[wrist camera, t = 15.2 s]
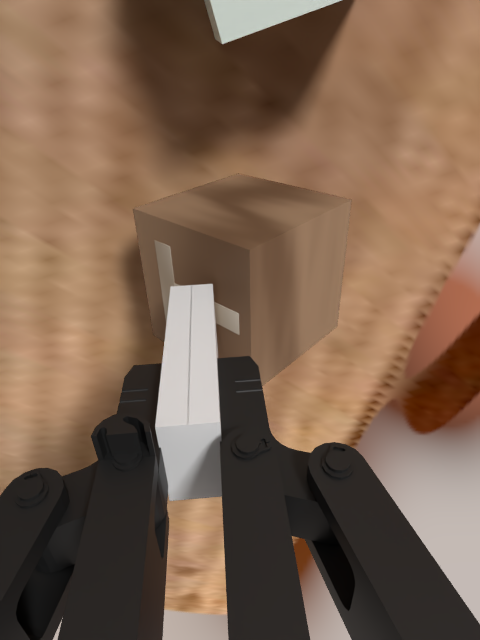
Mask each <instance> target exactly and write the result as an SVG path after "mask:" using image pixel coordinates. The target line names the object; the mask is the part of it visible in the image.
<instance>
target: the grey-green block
mask: <svg viewBox="0 0 480 640" xmlns="http://www.w3.org/2000/svg"><path fill="white" fill-rule="evenodd" d="M339 1H341V0H204V2H205V5H206V9H207V12H208V16H209V19H210V23H211V26H212V30H213V33H214V37H215V39H216V40H217V41H219V42H220V43H221V44H224V43H227V42H230V41H233V40H235V39H238V38H241V37H243V36H246V35H249V34H252V33H254V32H257V31H260V30H262V29H265V28H268V27H271V26H273V25H276V24H279V23H282V22H284V21H287V20H290V19H292V18H295V17H298V16H301V15H303V14H306V13H309V12H311V11H314V10H317V9H320V8H322V7H325V6H328V5H331V4H333V3H336V2H339Z"/></svg>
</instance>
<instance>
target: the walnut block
mask: <svg viewBox="0 0 480 640" xmlns="http://www.w3.org/2000/svg"><path fill="white" fill-rule="evenodd" d="M351 201H352V199H347V198H343V197H339V196H334V195H330V194H326V193H321V192H317V191H313V190H308V189H304V188H299V187H295V186H291V185H286V184H282V183H278V182H273V181H269V180H265V179H260V178H256V177H252V176H247V175H243V174H235V175H232V176H229V177H226V178H223V179H220V180H217V181H214V182H211V183H208V184H205V185H202V186H199V187H196V188H193V189H190V190H187V191H184V192H181V193H178V194H175V195H172V196H169V197H166V198H163V199H160V200H157V201H153V202H150V203H147V204H144V205H141V206H138V207H135V208H133V213H134V219H135V225H136V232H137V238H138V244H139V250H140V256H141V262H142V268H143V274H144V280H145V287H146V293H147V299H148V305H149V311H150V317H151V323H152V329H153V335H154V336H155V337H157V338H159V339H160V340H162V341H164V342H165V333H166V323H167V314H168V305H169V296H170V287H171V286H186V285H201V284H213V295H214V307H215V320H216V333H217V346H218V358H228V357H241V356H250V357H251V358H252V359H253V360H254V361H255V363H256V364H257V365H258V366H259V372H260V378H261V383H262V386H263V385H264V384H266V383H267V382H268V381H269V380H271V379H272V378H273V377H275V376H276V375H277V374H278V373H280V372H281V371H282V370H283V369H285V368H286V367H287V366H288V365H290V364H291V363H292V362H293V361H295V360H296V359H297V358H298V357H300V356H301V355H302V354H303V353H305V352H306V351H307V350H309V349H310V348H311V347H312V346H314V345H315V344H316V343H317V342H319V341H320V340H321V339H322V338H324V337H325V336H326V335H327V334H329V333H330V332H331V331H332V330H334V329H335V328H336V327H337V324H338V316H339V307H340V298H341V289H342V280H343V272H344V263H345V254H346V245H347V236H348V228H349V219H350V210H351Z"/></svg>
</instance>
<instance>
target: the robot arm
mask: <svg viewBox="0 0 480 640" xmlns="http://www.w3.org/2000/svg"><path fill="white" fill-rule="evenodd" d="M91 438H92V441H93V444H94V448H95V451H96V454H97V457H98V461H97V462H95V463H94V464H92V465H91V466H88V467H86V468H84V469H82V470H79V471H76V472H73V473H71V474H68V475H65V476H61V475H60V474H59V473H58V472H57V471H55V470H52V469H49V468H38V469H34V470H31V471H28V472H25V473H23V474H22V475H20V476H19V477H17V478H16V479H14V480H13V481H12V482H11V483H10V484H9V485H8V486H7V488H6V489H5V490H4V491H3V493H2V494H1V496H0V640H53V637H54V635H55V633H56V631H57V629H58V626H59V624H60V622H61V620H62V623H61V627H60V632H59V636H58V640H162V636H163V619H164V618H163V617H164V602H165V585H166V568H167V551H168V534H169V517H168V512H167V498H168V495H169V500H170V501H174V500H186V499H198V498H209V497H220V496H222V506H223V528H224V549H225V571H226V592H227V614H228V635H229V640H310V636H309V630H308V625H307V619H306V614H305V608H304V602H303V597H302V591H301V586H300V580H299V575H298V569H297V564H296V558H295V552H294V547H293V541H292V536H295V537H299V538H303V539H305V541H306V543H307V545H308V547H309V549H310V551H311V554H312V556H313V558H314V560H315V562H316V564H317V566H318V568H319V571H320V573H321V575H322V577H323V579H324V581H325V584H326V586H327V588H328V590H329V592H330V594H331V596H332V598H333V601H334V603H335V605H336V607H337V609H338V611H339V613H340V616H341V618H342V620H343V622H344V624H345V626H346V628H347V631H348V633H349V635H350V637H351V639H352V640H480V624H479V623H478V621H477V620H476V618H475V617H474V616H473V614H472V613H471V611H470V610H469V608H468V607H467V605H466V604H465V602H464V601H463V600H462V598H461V597H460V595H459V594H458V593H457V591H456V590H455V588H454V587H453V585H452V584H451V582H450V581H449V580H448V578H447V577H446V575H445V574H444V572H443V571H442V570H441V568H440V567H439V565H438V564H437V562H436V561H435V559H434V558H433V556H431V554H430V552H429V551H428V549H427V548H426V546H425V545H424V544H423V542H422V541H421V539H420V538H419V536H418V535H417V534H416V532H415V531H414V529H413V528H412V526H411V525H410V523H409V522H408V521H407V519H406V518H405V516H404V515H403V513H402V512H401V511H400V509H399V508H398V506H397V505H396V503H395V502H394V500H393V499H392V498H391V496H390V495H389V493H388V492H387V490H386V489H385V488H384V486H383V485H382V483H381V482H380V480H379V479H378V478H377V476H376V475H375V473H374V472H373V470H372V469H371V467H370V466H369V465H368V463H367V462H366V460H365V459H364V458H363V456H362V455H361V454H360V453H359V452H358V451H357V450H356V449H354V448H352V447H350V446H348V445H346V444H341V443H336V442H333V443H324V444H322V445H320V446H318V447H316V448H315V449H314V450H313V451H312V453H308V452H303V451H298V450H294V449H291V448H288V447H286V446H284V445H282V444H280V443H279V442H278V441H277V440H276V439H275V438H274V437H273V435H272V434H271V431H270V428H269V423H268V418H267V412H266V406H265V400H264V395H263V390H262V383H261V378H260V372H259V366H258V365H257V364H256V363H255V361H254V360H253V359H252V358H251V357H250V356H241V357H228V358H218V346H217V333H216V320H215V307H214V295H213V284H201V285H186V286H171V287H170V296H169V305H168V314H167V323H166V333H165V342H164V351H163V360H162V363H161V364H148V365H134V366H133V367H132V369H131V370H130V371H129V372H128V374H127V375H126V376H125V378H124V383H123V387H122V393H121V397H120V403H119V406H118V411H117V414H116V415H113V416H111V417H109V418H107V419H105V420H103V421H102V422H101V423H100V424H99V425H98V426H97V427H96V428H95V429H94V431H93V433H92V435H91ZM62 617H63V619H62Z"/></svg>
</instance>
